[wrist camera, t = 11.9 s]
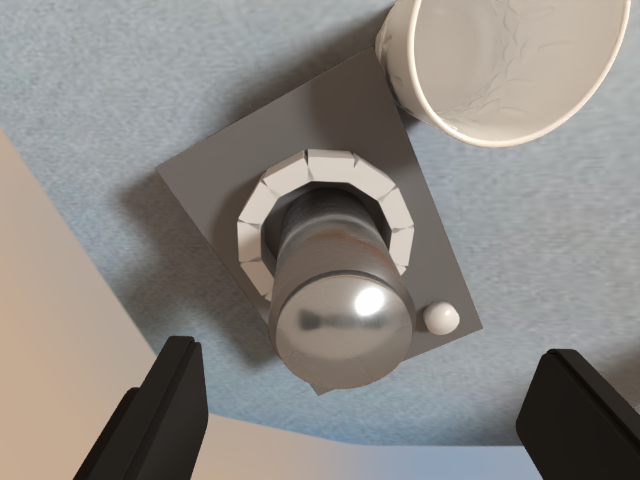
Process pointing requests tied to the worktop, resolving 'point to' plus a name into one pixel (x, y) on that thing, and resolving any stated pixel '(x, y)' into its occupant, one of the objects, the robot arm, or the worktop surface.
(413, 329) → the shiny metal cylinder
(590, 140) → the worktop surface
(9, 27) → the worktop surface
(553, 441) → the robot arm
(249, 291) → the camera body
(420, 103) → the white cup
